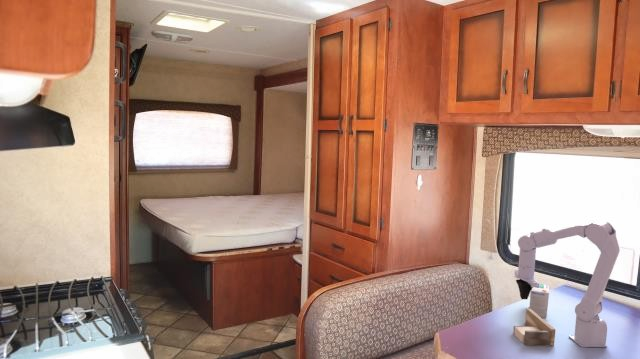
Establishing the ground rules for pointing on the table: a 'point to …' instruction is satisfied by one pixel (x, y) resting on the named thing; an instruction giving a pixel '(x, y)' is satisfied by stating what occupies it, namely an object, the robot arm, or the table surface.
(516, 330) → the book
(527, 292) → the robot arm
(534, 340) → the shelf
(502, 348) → the table surface
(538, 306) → the light bulb box
